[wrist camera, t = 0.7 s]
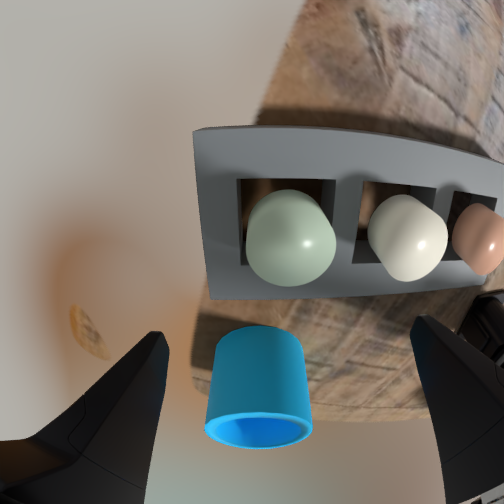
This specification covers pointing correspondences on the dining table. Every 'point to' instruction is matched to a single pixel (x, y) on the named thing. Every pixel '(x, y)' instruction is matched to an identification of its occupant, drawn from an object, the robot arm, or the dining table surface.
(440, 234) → the cream button
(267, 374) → the mug
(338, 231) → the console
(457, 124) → the dining table surface
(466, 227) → the terracotta button
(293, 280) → the sage button
